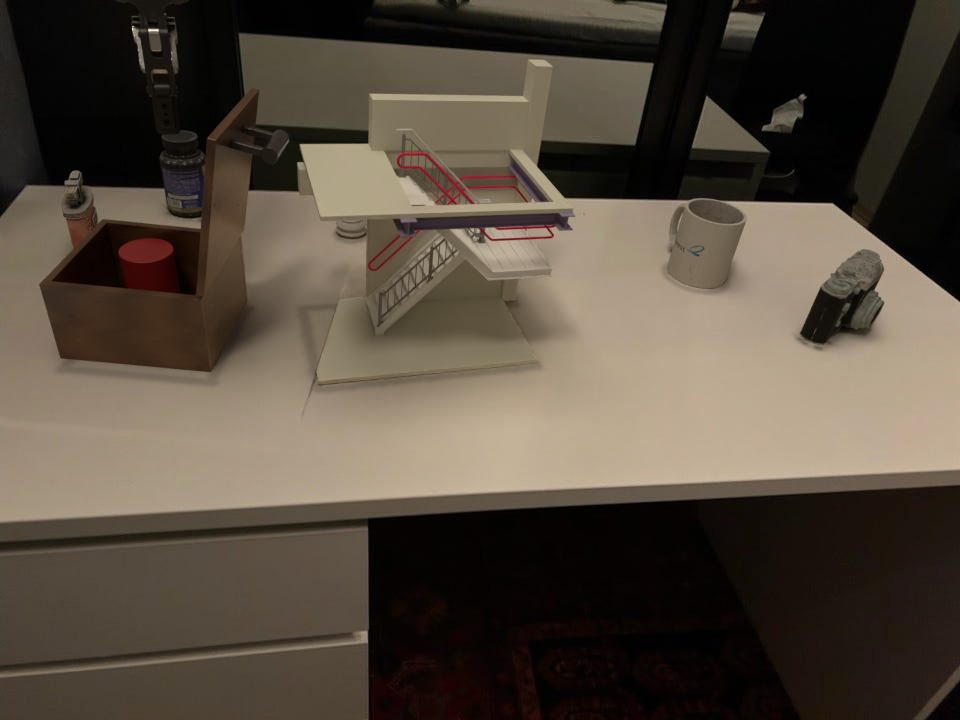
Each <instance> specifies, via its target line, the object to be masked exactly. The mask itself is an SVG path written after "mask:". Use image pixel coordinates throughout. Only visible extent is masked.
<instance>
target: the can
mask: <svg viewBox="0 0 960 720" xmlns="http://www.w3.org/2000/svg"><path fill="white" fill-rule="evenodd" d="M118 254H119V259H120V264H121V269H122V273H123V278H124V283H125V288H126V289H137V290H147V291H157V292H167V293H178V294H180V287H179V281H178V275H177V268H176V262H175V256H174V249H173V246H172V245H171V244H170V243H169V242H167V241H164V240H161V239H154V238H145V239H138V240H134V241H131V242H128V243H126V244H124V245H123V246H122V247H121V248H120V249H119V251H118Z"/></svg>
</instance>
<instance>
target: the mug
mask: <svg viewBox="0 0 960 720" xmlns="http://www.w3.org/2000/svg"><path fill="white" fill-rule="evenodd" d="M747 220H748V217H747V215H746V213H745V212H744V211H743V210H742V209H741V208H739V207H738V206H735V205H733V204H731V203H729V202H726V201H722V200H719V199H713V198H704V197H699V198H692V199H689V200H688V201H686V202H684V203H681V204H679V205H678V206H677V207H676V209H675V210H674V212H673V214H672V217H671V218H670V223H669V227H668V228H669V230H668V236H669V244H670V245H671V247H672V249H671V252H670V255H669V258H668V262H667V266H666V270H667V272H668V274H669V275H670V276H671V277H672V278H674V279H675V280H676V281H678V282H679V283H682V284H684V285H687V286H690V287H693V288H699V289H716V288H719V287H721V286H723V285H724V284H725V282H726V280H727V277H728V274H729V271H730V269H731V266H732V263H733V260H734V257H735V255H736V252H737V248H738V246H739V243H740V239H741V237H742V234H743V231H744V228H745V225H746V222H747Z"/></svg>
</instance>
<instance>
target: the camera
mask: <svg viewBox="0 0 960 720" xmlns="http://www.w3.org/2000/svg"><path fill="white" fill-rule="evenodd" d="M882 261H883V260H882V259H881V255H880V254H879V253H878V252H876V251H874V250H871V249H867V248H866V249H860V250H857V251H856V252H855V253H854V254H852V255H851V256H850V257H848V258H847V259H846V260H845V261H843V262H841V263H840V265H839V266H838V267H837V268H836V270H835V271H834V272H830V274H829V275H830V277H829V278H827V279H826V280H825V281H824V282H823V283H822V284H821V285H820V286H819V290H818V292H817V294H816V296H815V299H814V301H813V303H812V305H811V307H810V309H809V312H808V314H807V316H806V319H805V321H804V323H803V325H802V328H801V330H800V332H799V335H800V337H802V338H803V339H804V340H806V341H807V342H810V343H812V344H815V345H820V346H821V345H823V346H824V345H825V344H826V343H827V342H828V341H829V340H830V339H831V338H832V337H833V336H834V335H835V334H836V333H838V331H839V330H840V329H841V328H842V327H844V328H848V329H849V330H850V329H854V330H859V329H862V330H864V329H870V328H871V327H872V326H873V325H874V323H875V322H876V321H877V318H878V317H879V315H880V313H881V311H882V309H883V307H884V305H885V301H884V300H882V297H881V296H879V294H880V293H879V291H876V288H877V286H878V284H879V282H880V280H881V277H882V276H883V274H884V272H885V266H884V264H883V262H882Z"/></svg>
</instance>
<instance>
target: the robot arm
mask: <svg viewBox="0 0 960 720" xmlns="http://www.w3.org/2000/svg"><path fill="white" fill-rule="evenodd" d="M114 1H115V2H118V3H122V4H124V5H125V4H132V5H134V6H135V7H136V8H137V10H138V15H131V30H132V31H131V32H132V36H133V41H134V43H135V44H136V47H137V54H138V62H139V67H140V70H141V72H142V73H143V74H145V80H146V86H145V87H146V93H148V96H149V97H151V98H150V99H151V104H152V111H153V117H154V123H155V130H156V132H157V133H158V134H159V135H161V136H162V135H167V134H178V133H179V132H180V130H181V123H180V117H179V111H178V99H177V97H178V95H177V94H178V93H179V88H178V86H177V85H176V80H175V76H176V75H177V74H178V73H179V70H180V69H179V59H178V53H177V45H178V42H179V39H178V31H177V24H176V18H175V17H174V16H167V12H166V11H167V10H166V8H167V7H168V6H171V5H172V6H178V5H183V4H185V3H188V2H189V1H190V0H114Z"/></svg>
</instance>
